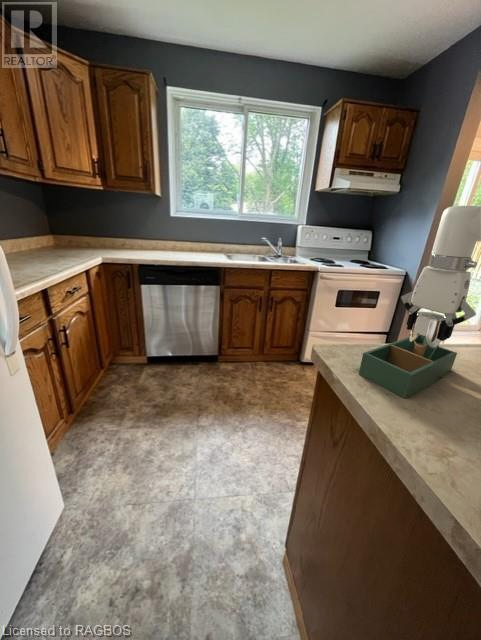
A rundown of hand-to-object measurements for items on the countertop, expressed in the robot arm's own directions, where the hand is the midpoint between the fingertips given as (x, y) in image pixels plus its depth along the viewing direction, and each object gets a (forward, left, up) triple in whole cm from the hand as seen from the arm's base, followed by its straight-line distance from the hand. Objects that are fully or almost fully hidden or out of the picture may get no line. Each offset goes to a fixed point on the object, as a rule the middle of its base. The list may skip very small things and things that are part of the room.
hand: (426, 333), depth 69 cm
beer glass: (0, 0, -10) cm, 10 cm away
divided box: (+5, 0, -10) cm, 12 cm away
